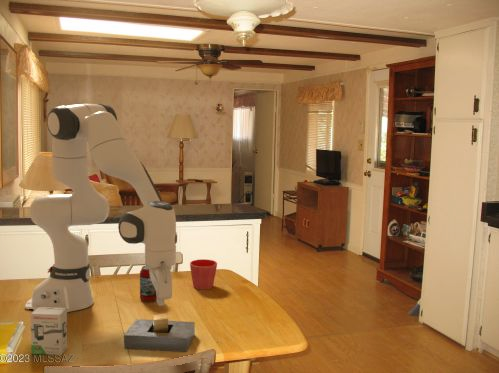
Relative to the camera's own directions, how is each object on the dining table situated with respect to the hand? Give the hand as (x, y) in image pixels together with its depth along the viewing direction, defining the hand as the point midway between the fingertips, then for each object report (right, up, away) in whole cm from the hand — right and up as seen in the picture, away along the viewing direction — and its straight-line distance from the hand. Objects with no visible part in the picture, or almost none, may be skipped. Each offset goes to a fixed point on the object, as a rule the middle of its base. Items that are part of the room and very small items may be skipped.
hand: (160, 304), depth 148 cm
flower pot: (+8, -5, +53) cm, 54 cm away
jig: (0, -11, +2) cm, 11 cm away
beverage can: (-11, -7, +37) cm, 39 cm away
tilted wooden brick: (0, -11, +2) cm, 11 cm away
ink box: (-30, -12, -6) cm, 33 cm away
